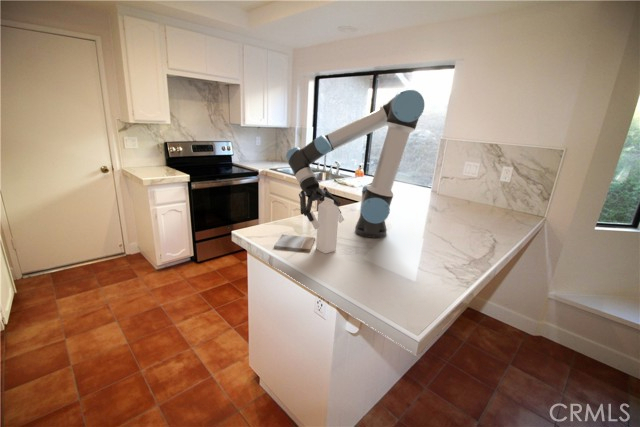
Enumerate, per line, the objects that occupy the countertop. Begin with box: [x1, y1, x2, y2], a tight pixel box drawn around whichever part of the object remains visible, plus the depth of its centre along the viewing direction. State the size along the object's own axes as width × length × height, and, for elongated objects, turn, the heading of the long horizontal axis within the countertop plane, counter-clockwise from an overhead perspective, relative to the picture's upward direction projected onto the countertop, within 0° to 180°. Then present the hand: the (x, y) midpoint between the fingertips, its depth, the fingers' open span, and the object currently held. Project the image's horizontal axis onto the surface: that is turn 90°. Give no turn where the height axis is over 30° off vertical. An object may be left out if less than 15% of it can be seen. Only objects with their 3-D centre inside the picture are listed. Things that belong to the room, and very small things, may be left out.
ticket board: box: [273, 234, 316, 253], centre depth 129 cm, size 15×13×1 cm
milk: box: [315, 197, 340, 254], centre depth 122 cm, size 6×6×22 cm
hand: (330, 224), depth 121 cm, fingers open, 13 cm apart
